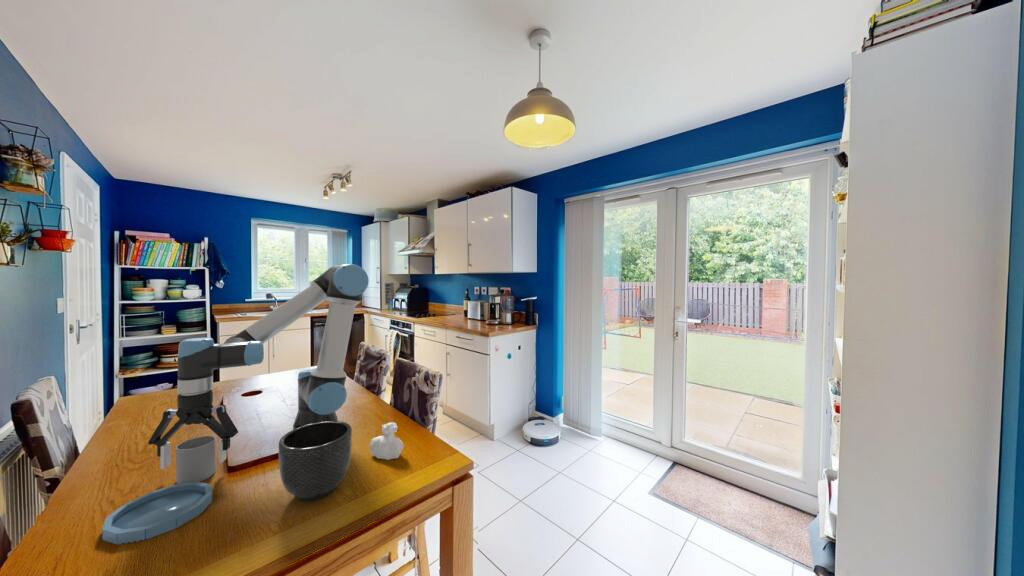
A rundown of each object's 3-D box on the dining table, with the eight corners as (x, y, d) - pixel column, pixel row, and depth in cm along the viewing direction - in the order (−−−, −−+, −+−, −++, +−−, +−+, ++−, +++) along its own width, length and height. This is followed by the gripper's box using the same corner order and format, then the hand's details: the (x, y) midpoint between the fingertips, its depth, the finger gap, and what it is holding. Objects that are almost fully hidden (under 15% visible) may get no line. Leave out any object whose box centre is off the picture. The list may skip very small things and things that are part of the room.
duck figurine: (404, 463, 108) (415, 427, 115) (393, 459, 102) (405, 421, 109) (372, 459, 111) (384, 424, 117) (360, 454, 105) (373, 418, 111)
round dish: (226, 486, 92) (226, 477, 92) (181, 533, 75) (181, 523, 75) (144, 497, 87) (144, 488, 87) (77, 551, 70) (76, 540, 70)
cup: (191, 486, 92) (190, 451, 92) (168, 482, 93) (167, 448, 93) (223, 469, 100) (222, 437, 100) (201, 466, 102) (201, 434, 102)
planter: (299, 523, 78) (298, 456, 78) (266, 497, 88) (266, 438, 87) (364, 485, 93) (364, 429, 93) (330, 466, 102) (330, 415, 102)
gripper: (252, 385, 103) (251, 452, 103) (151, 390, 96) (150, 462, 97) (239, 392, 96) (238, 464, 96) (130, 398, 89) (129, 476, 89)
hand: (194, 463), depth 96 cm, fingers open, 13 cm apart
